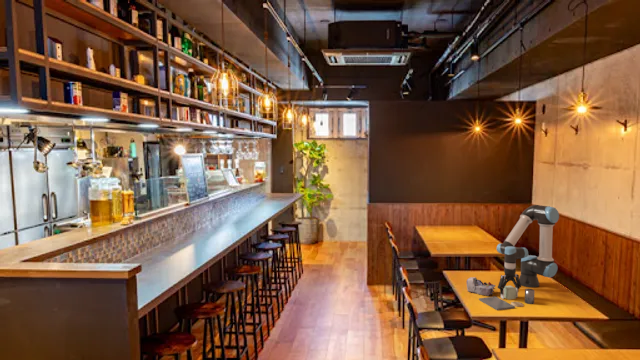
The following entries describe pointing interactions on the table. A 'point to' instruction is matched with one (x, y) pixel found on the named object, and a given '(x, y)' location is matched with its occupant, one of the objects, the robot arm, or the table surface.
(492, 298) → the slate board
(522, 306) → the cork coaster
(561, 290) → the table surface
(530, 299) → the dark tin
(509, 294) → the sage block
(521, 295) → the table surface
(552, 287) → the table surface
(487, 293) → the cell model
